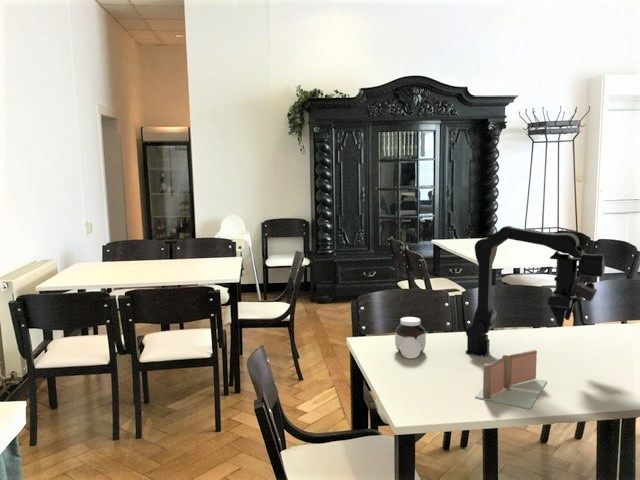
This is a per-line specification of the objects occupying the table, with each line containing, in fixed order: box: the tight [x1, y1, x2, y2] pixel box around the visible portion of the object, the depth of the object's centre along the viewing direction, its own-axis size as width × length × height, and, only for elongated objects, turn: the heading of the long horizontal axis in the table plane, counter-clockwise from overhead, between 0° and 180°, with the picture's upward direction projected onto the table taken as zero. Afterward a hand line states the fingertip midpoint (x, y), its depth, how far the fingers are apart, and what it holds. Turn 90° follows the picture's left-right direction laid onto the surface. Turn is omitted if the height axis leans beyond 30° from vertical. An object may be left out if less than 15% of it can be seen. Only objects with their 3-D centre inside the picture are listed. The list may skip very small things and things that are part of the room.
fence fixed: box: [482, 358, 512, 399], centre depth 149 cm, size 6×13×10 cm, turn 147°
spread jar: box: [394, 316, 427, 360], centre depth 183 cm, size 12×11×12 cm
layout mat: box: [474, 378, 548, 410], centre depth 151 cm, size 14×22×1 cm, turn 147°
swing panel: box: [501, 349, 538, 388], centre depth 154 cm, size 13×2×9 cm, turn 117°
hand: (564, 323), depth 167 cm, fingers open, 9 cm apart
